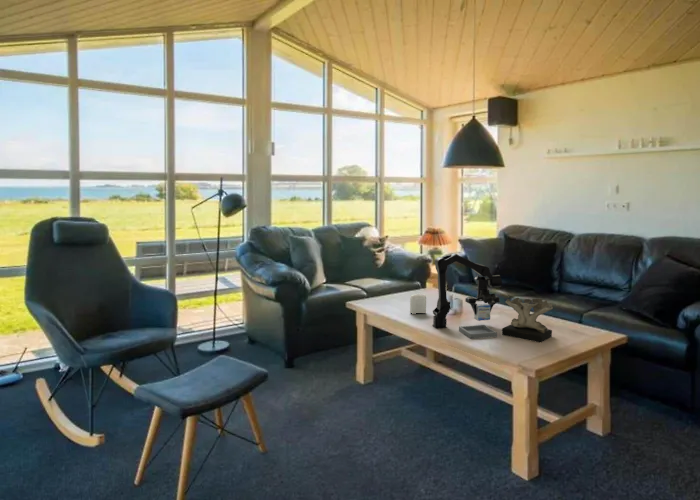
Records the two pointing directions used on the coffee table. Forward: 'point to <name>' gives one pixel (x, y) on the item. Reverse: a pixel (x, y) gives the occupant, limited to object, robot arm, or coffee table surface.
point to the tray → (477, 331)
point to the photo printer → (418, 303)
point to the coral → (528, 320)
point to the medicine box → (482, 312)
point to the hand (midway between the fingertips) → (482, 314)
